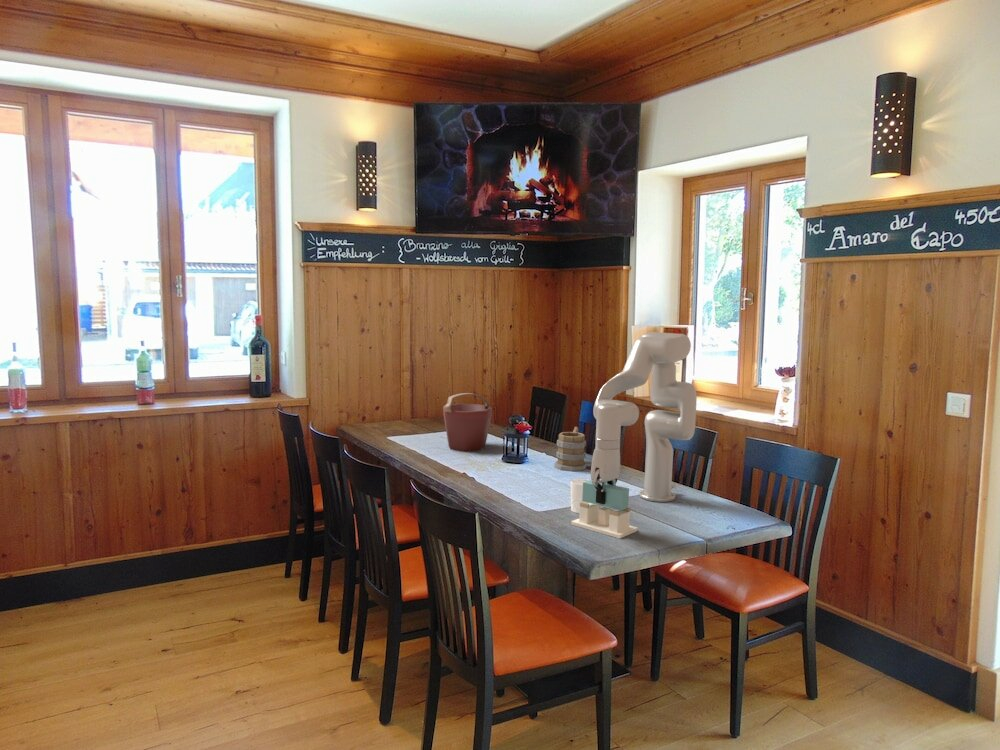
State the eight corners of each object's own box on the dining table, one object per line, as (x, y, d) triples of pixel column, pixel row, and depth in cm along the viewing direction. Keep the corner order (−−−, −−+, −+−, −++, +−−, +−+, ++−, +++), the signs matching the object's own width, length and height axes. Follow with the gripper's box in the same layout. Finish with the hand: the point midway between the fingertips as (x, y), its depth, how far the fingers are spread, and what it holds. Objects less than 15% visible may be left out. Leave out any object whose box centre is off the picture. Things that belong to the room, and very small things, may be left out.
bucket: (447, 454, 319) (448, 398, 316) (432, 443, 339) (433, 390, 336) (499, 450, 328) (500, 396, 325) (481, 440, 348) (482, 389, 345)
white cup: (591, 507, 247) (592, 478, 246) (594, 514, 239) (596, 485, 238) (567, 507, 247) (569, 478, 245) (570, 514, 239) (572, 484, 238)
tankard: (582, 472, 294) (583, 436, 292) (551, 469, 297) (553, 433, 296) (591, 461, 312) (593, 427, 311) (563, 458, 316) (564, 424, 314)
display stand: (589, 517, 236) (590, 495, 235) (637, 530, 224) (638, 508, 223) (571, 524, 228) (571, 502, 228) (620, 538, 217) (621, 515, 216)
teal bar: (588, 498, 231) (589, 480, 230) (628, 507, 223) (629, 488, 222) (582, 501, 228) (583, 482, 227) (621, 510, 219) (622, 491, 219)
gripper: (612, 438, 232) (609, 494, 234) (581, 445, 219) (579, 504, 221) (632, 442, 227) (629, 499, 229) (602, 450, 214) (599, 510, 217)
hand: (604, 501), depth 225 cm, fingers closed on teal bar, 4 cm apart
